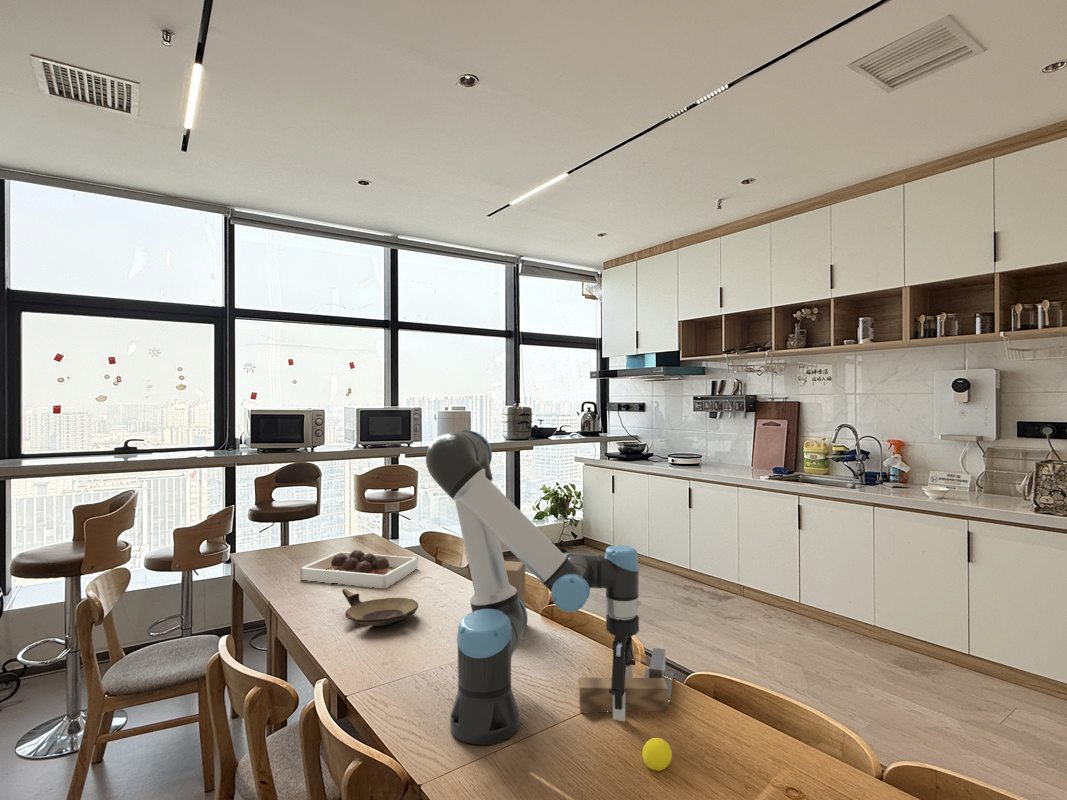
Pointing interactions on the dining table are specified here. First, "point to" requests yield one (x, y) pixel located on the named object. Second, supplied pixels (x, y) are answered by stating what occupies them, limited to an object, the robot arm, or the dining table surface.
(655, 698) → the walnut bar
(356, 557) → the chocolate truffle
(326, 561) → the truffle corral
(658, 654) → the fulcrum
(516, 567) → the wooden block
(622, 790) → the dining table surface
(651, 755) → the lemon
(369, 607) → the olive brown pan
